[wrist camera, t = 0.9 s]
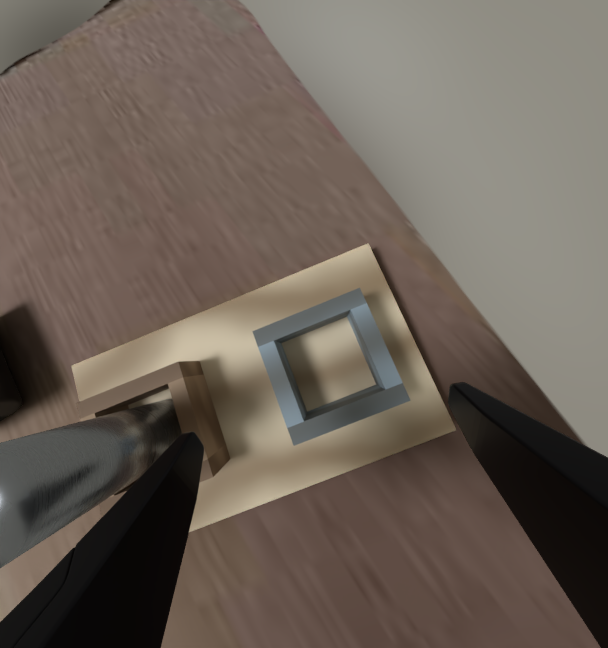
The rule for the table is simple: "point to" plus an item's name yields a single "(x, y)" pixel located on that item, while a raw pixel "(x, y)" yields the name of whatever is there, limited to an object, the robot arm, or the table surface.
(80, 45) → the table surface
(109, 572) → the robot arm
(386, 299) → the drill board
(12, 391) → the end cap
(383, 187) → the table surface
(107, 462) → the grey long rounded piece
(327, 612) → the table surface
